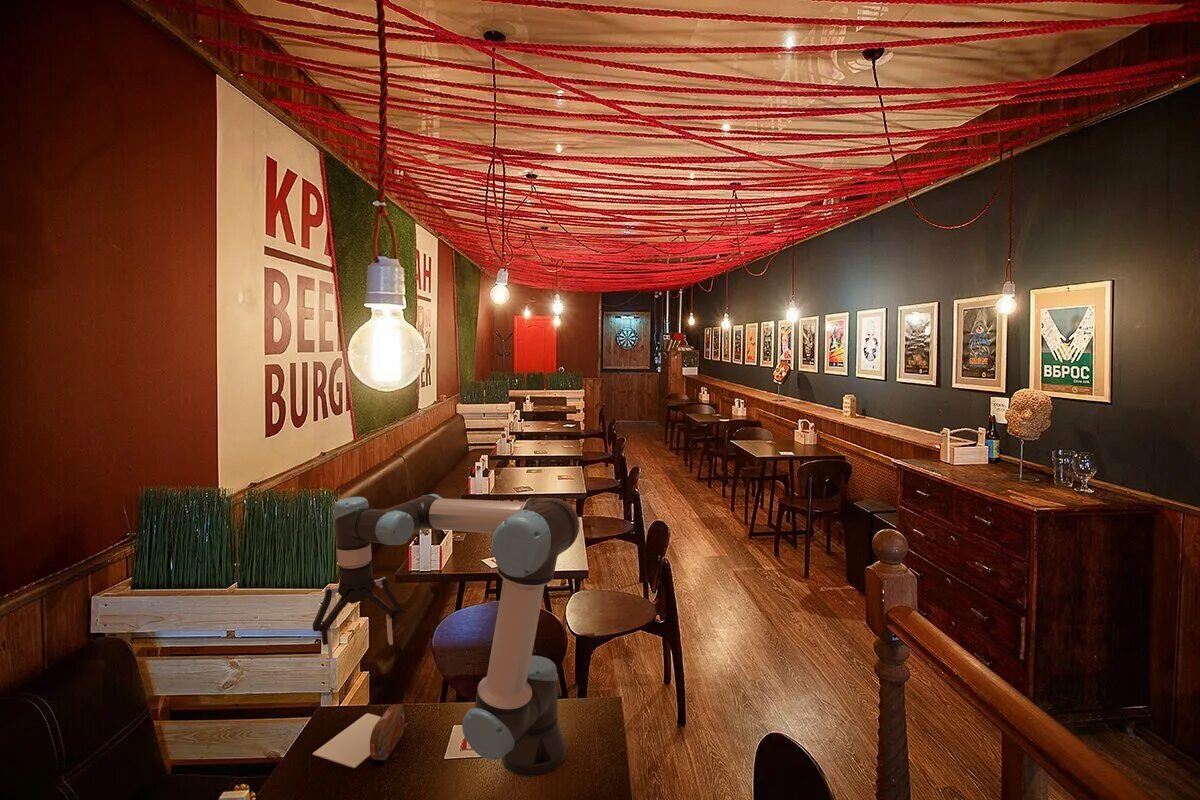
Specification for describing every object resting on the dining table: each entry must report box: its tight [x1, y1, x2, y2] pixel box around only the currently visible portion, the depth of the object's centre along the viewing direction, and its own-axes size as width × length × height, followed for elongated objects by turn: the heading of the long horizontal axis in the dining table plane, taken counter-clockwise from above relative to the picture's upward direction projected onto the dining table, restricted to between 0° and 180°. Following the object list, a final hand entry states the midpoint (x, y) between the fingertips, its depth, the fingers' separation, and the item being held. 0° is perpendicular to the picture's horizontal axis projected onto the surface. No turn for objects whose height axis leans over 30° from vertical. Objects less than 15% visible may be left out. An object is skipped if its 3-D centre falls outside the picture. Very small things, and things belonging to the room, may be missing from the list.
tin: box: [370, 703, 407, 762], centre depth 157 cm, size 15×3×8 cm, turn 172°
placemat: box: [312, 713, 407, 769], centre depth 161 cm, size 13×18×1 cm
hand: (361, 649), depth 156 cm, fingers open, 13 cm apart
